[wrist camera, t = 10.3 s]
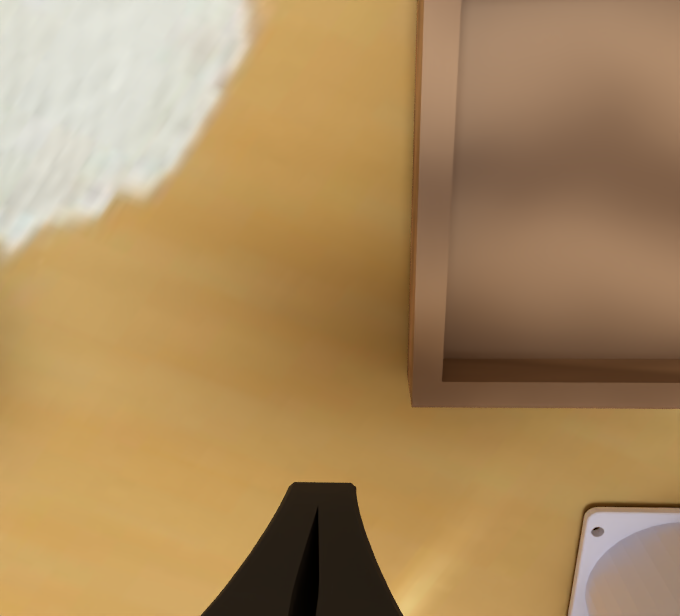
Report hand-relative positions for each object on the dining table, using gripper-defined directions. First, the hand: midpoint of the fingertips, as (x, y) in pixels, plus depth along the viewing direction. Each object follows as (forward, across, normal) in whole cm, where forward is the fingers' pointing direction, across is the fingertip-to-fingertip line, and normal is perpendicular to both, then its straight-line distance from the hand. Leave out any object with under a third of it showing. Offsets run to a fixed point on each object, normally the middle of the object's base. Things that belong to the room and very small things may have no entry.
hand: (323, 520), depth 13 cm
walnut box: (+10, -10, -5) cm, 15 cm away
